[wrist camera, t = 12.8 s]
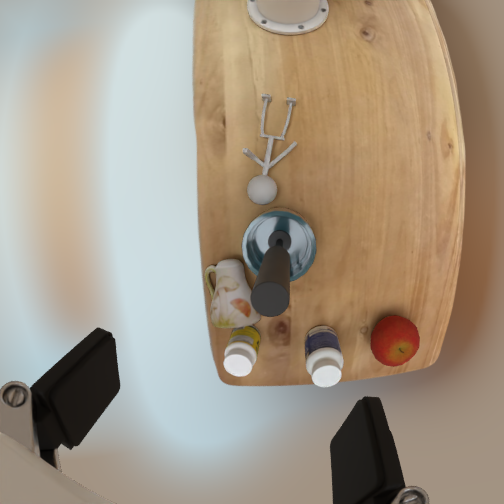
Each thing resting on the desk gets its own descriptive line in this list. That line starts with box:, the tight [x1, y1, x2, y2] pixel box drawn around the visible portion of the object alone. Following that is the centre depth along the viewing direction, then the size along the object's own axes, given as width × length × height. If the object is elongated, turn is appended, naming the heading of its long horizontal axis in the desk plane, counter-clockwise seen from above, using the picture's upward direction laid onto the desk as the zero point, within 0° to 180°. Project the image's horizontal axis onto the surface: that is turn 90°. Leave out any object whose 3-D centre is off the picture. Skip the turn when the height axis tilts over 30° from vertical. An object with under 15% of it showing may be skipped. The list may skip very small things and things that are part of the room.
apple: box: [371, 315, 420, 367], centre depth 36 cm, size 8×8×8 cm
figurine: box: [243, 94, 297, 205], centre depth 33 cm, size 6×6×15 cm
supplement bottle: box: [224, 325, 261, 376], centre depth 39 cm, size 5×5×8 cm
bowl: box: [242, 207, 316, 282], centre depth 36 cm, size 9×9×5 cm
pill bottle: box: [305, 326, 344, 387], centre depth 37 cm, size 5×5×10 cm
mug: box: [204, 259, 261, 328], centre depth 39 cm, size 8×10×10 cm
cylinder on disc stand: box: [250, 230, 291, 317], centre depth 29 cm, size 3×3×20 cm
